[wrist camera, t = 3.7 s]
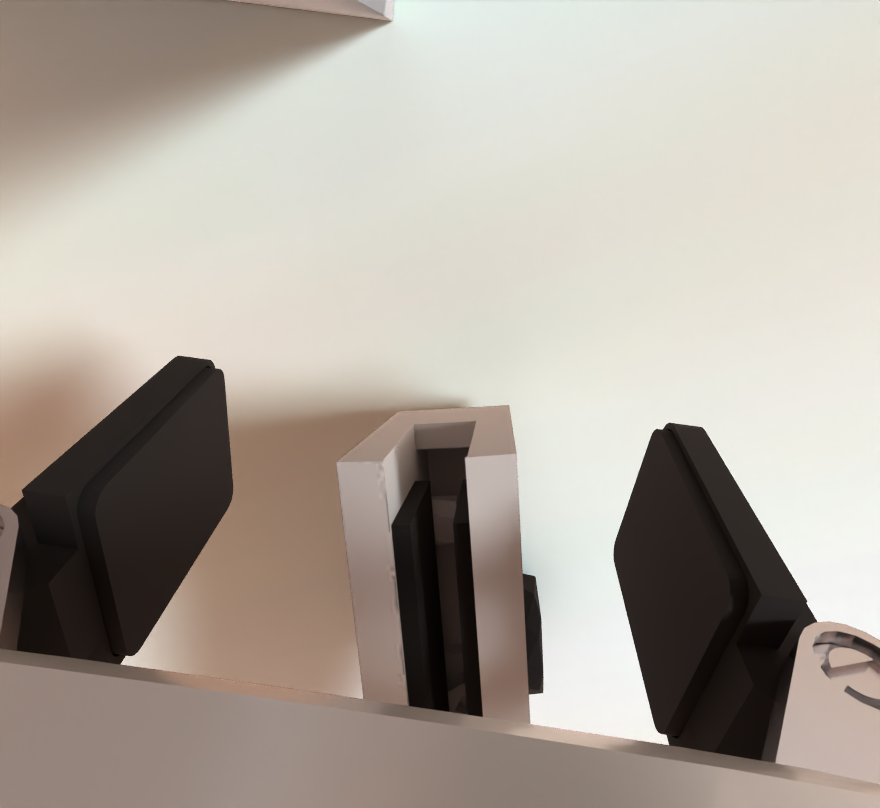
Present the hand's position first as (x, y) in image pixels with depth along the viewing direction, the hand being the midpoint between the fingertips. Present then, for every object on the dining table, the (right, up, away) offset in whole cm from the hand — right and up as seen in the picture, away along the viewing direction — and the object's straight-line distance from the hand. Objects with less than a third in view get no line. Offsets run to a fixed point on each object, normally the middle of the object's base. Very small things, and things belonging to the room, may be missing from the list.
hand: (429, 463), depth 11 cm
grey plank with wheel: (0, +1, +3) cm, 3 cm away
